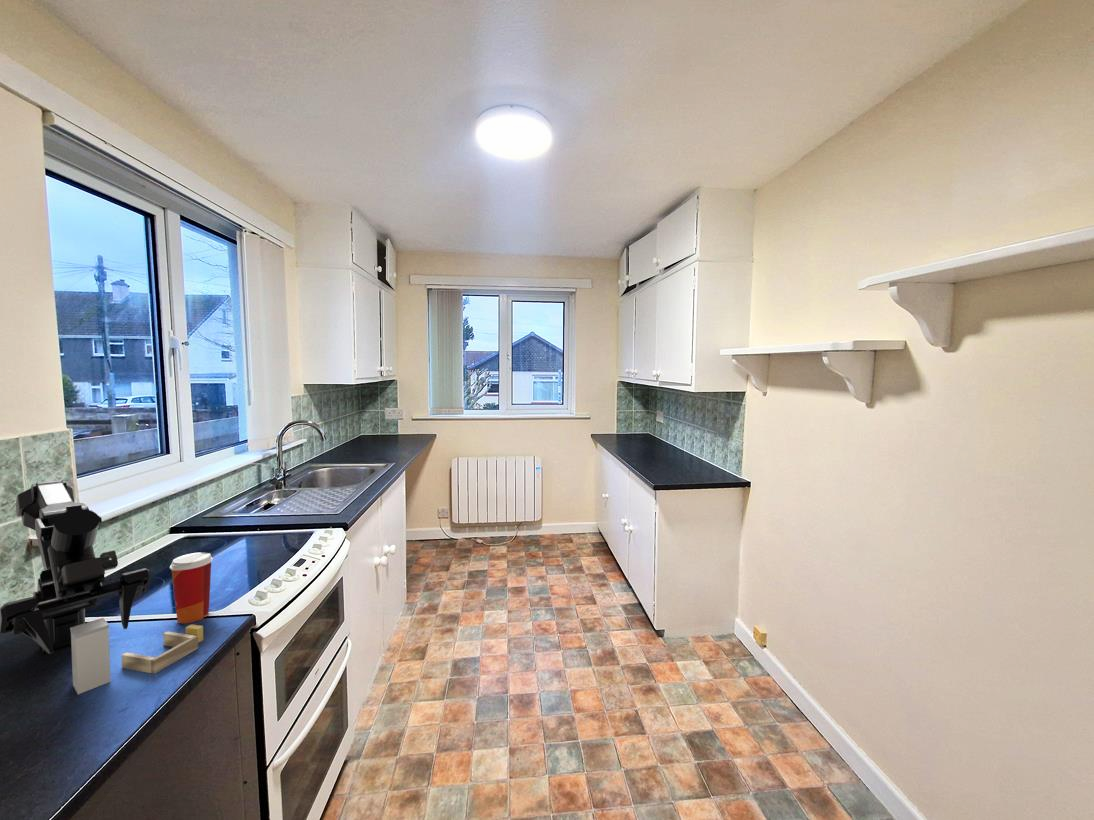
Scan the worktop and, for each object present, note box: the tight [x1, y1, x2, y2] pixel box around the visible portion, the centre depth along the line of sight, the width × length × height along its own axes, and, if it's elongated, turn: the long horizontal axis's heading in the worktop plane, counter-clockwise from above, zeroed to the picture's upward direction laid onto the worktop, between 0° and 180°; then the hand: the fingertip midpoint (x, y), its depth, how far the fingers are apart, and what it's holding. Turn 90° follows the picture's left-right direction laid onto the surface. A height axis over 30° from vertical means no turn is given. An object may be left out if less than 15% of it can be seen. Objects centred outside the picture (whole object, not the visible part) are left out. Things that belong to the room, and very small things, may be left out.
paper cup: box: [169, 551, 214, 625], centre depth 99 cm, size 8×8×14 cm
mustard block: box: [185, 623, 204, 644], centre depth 90 cm, size 3×1×3 cm, turn 78°
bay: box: [121, 630, 199, 674], centre depth 84 cm, size 8×8×2 cm
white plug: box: [70, 617, 111, 695], centre depth 77 cm, size 4×4×10 cm
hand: (90, 639), depth 76 cm, fingers open, 9 cm apart
